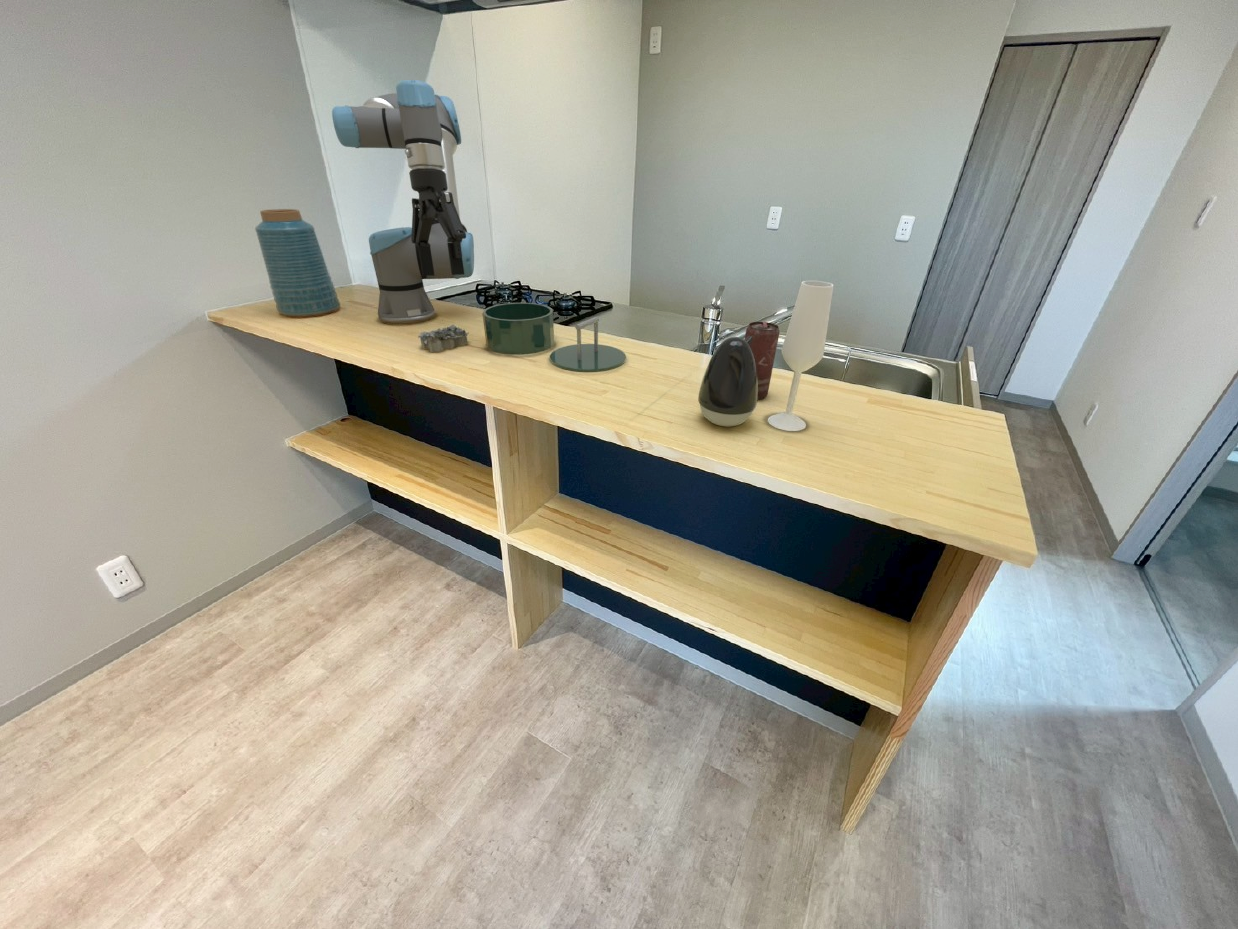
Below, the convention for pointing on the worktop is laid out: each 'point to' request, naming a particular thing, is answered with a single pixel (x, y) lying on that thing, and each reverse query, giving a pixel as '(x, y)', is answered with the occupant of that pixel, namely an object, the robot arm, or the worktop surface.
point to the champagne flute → (804, 343)
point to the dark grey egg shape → (730, 383)
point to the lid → (588, 353)
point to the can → (763, 352)
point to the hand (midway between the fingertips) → (442, 275)
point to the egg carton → (443, 338)
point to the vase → (295, 265)
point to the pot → (519, 328)
